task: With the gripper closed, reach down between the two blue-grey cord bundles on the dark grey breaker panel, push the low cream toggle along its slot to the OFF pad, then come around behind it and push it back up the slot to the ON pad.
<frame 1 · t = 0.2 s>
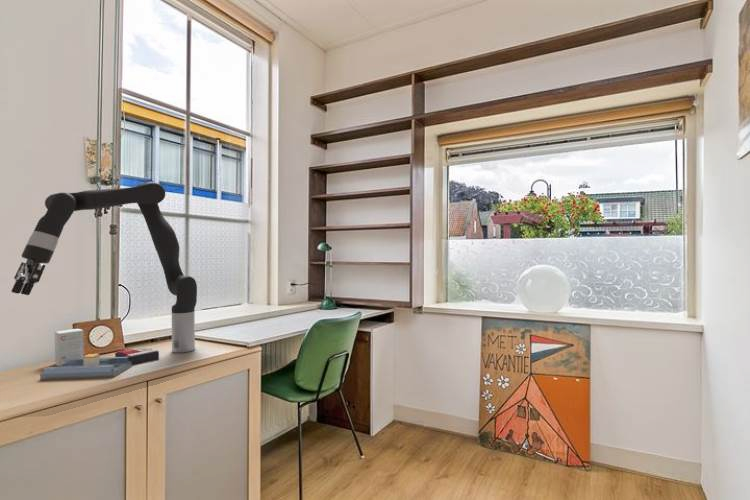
hand: (19, 293, 130), 31 cm above the table, tool tilted 20°, fingers open, 8 cm apart
small box: (69, 363, 158), on the table
breaker toggle: (91, 360, 146), point 4 cm above the table, slide at 7.0 cm
breaker panel: (88, 372, 146), on the table
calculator: (137, 360, 164), on the table
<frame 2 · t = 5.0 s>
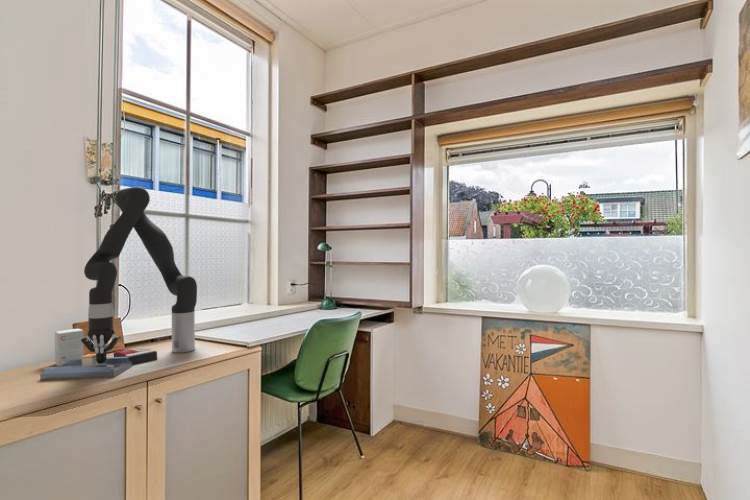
hand: (101, 362, 146), 4 cm above the table, tool pointing down, fingers closed
breaker toggle: (89, 360, 146), point 4 cm above the table, slide at 6.4 cm, touching gripper
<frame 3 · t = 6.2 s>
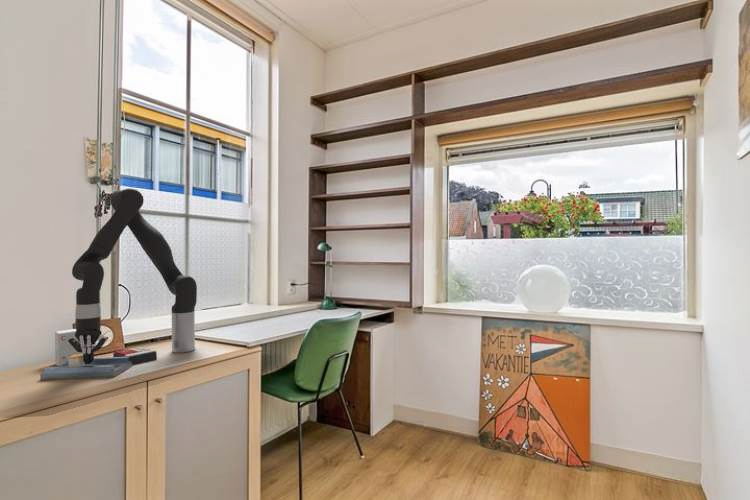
hand: (88, 363, 146), 4 cm above the table, tool pointing down, fingers closed
breaker toggle: (76, 361, 145), point 4 cm above the table, slide at 2.0 cm, touching gripper
everything else where it was.
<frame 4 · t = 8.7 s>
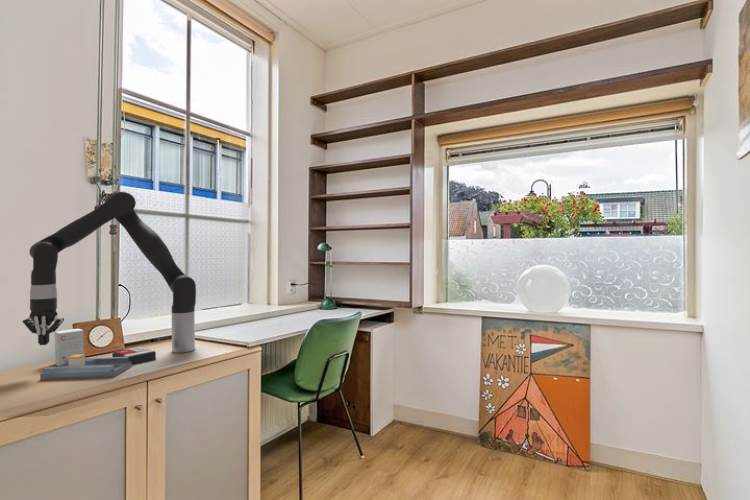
hand: (43, 344, 144), 11 cm above the table, tool pointing down, fingers closed
breaker toggle: (76, 361, 145), point 4 cm above the table, slide at 2.0 cm
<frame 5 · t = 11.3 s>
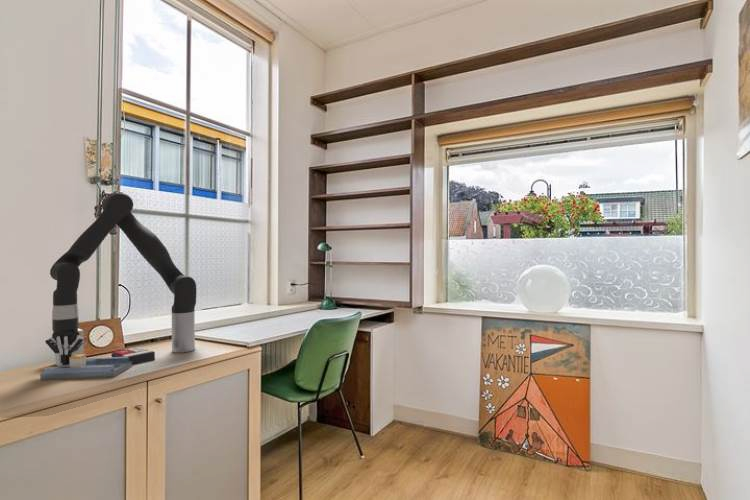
hand: (66, 364, 145), 3 cm above the table, tool pointing down, fingers closed
breaker toggle: (77, 361, 145), point 4 cm above the table, slide at 2.4 cm, touching gripper
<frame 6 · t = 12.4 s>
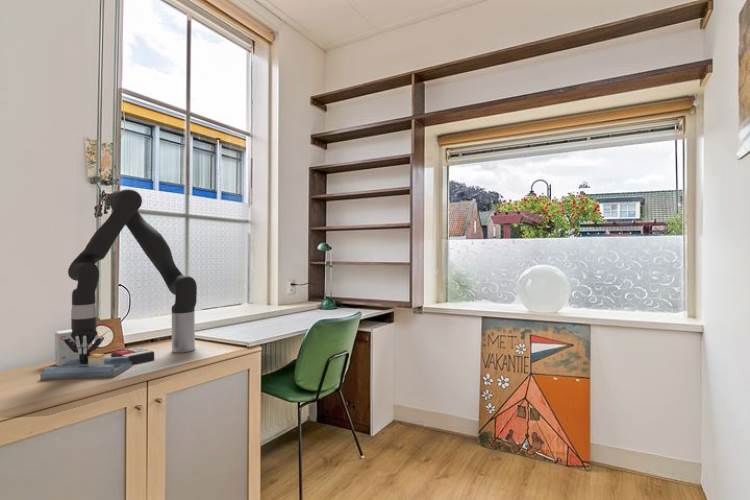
hand: (84, 363, 146), 3 cm above the table, tool pointing down, fingers closed
breaker toggle: (96, 360, 146), point 4 cm above the table, slide at 8.6 cm, touching gripper
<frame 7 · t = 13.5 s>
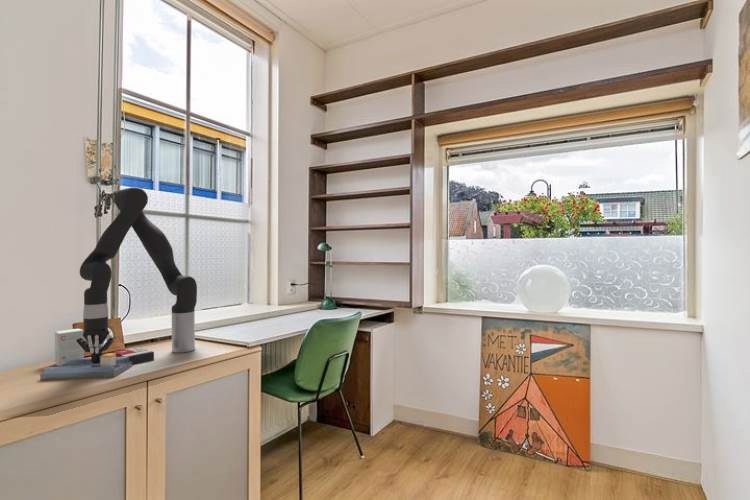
hand: (96, 362, 146), 3 cm above the table, tool pointing down, fingers closed
breaker toggle: (108, 360, 147), point 4 cm above the table, slide at 12.7 cm, touching gripper
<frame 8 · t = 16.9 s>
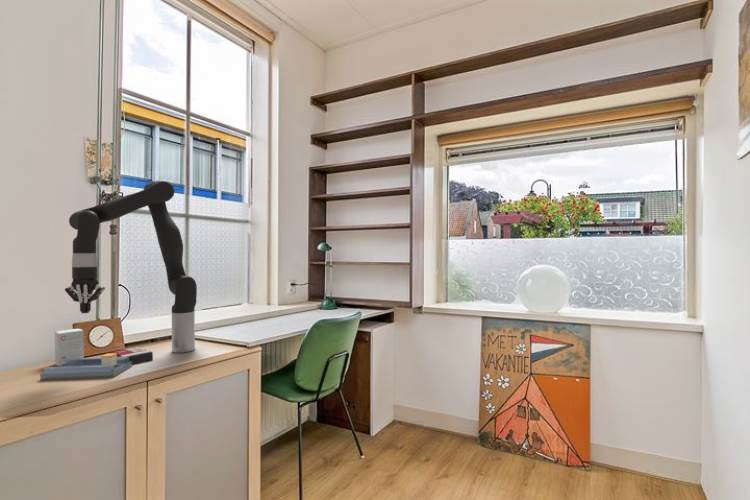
hand: (85, 312, 146), 22 cm above the table, tool pointing down, fingers closed
breaker toggle: (109, 360, 147), point 4 cm above the table, slide at 13.1 cm
at the end: breaker toggle slide at 13.1 cm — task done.
